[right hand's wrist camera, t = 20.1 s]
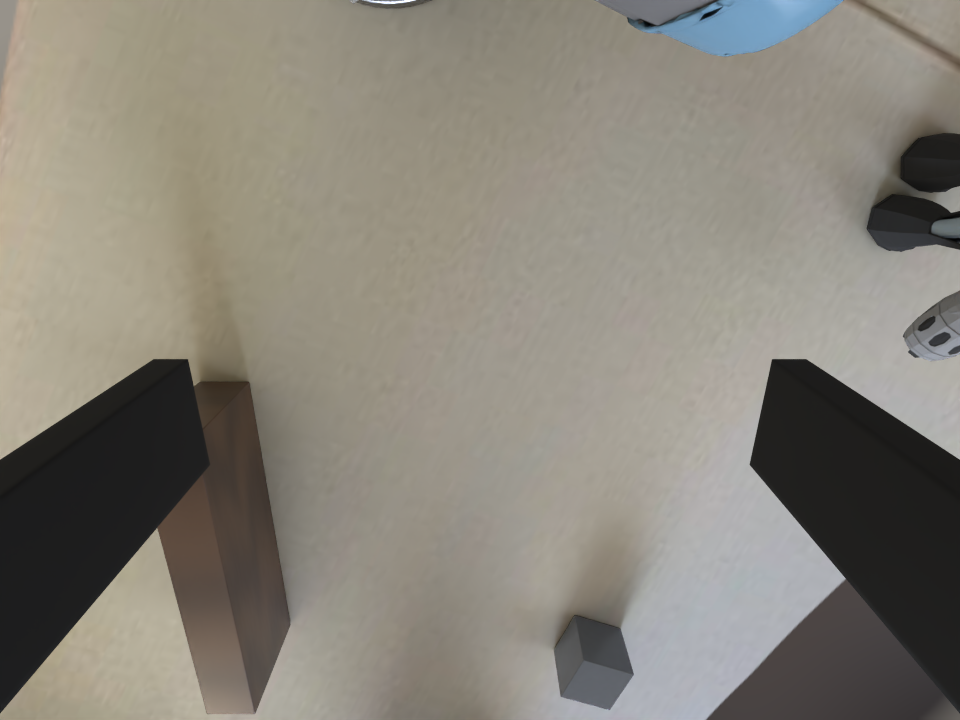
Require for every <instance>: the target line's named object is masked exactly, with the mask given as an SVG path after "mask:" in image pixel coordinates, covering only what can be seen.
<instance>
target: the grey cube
mask: <svg viewBox="0 0 960 720" xmlns="http://www.w3.org/2000/svg"><path fill="white" fill-rule="evenodd" d="M554 654H555V661H556V668H557V675H558V682H559V688H560V695H561V697H563V698H567V699H570V700H574V701H578V702H581V703H585V704H589V705H592V706H596V707H600V708H603V709H607V710H610V709H611V707H612V706H613V704H614V703H615V701H616V700H617V699H618V697H619V696H620V694H621V693H622V691H623V690H624V688H625V687H626V685H627V684H628V682H629V681H630V679H631V678H632V677H633V675H634V673H633V670H632V666H631V663H630V660H629V656H628V653H627V649H626V646H625V642H624V639H623V635H622V632H621V629H620V628H616V627H613V626H610V625H606V624H603V623H600V622H596V621H593V620H590V619H586V618H583V617H580V616H576V615H574V617H573V619H572V620H571V622H570V624H569V625H568V627H567V629H566V630H565V632H564V634H563V635H562V637H561V639H560V641H559V642H558V644H557V646H556V647H555V649H554Z"/></svg>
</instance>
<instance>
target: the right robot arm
mask: <svg viewBox="0 0 960 720" xmlns="http://www.w3.org/2000/svg"><path fill="white" fill-rule="evenodd" d="M350 1H351V2H352V3H353V4H354V3H355V2H357V3H360V4H363V5H367V6H372V7H379V8H404V7H411V6H415V5H420V4H423V3H426V2H428V1H431V0H350ZM595 1H597V2H599V3H601V4H603V5H605V6H607V7H609V8H611V9H613V10H615V11H617V12H619V13H621V14H623V15H625V16H627V18H628V22H629V24H631V25H632V26H634V27H635V28H637V29H639V30H641V31H643V32H647V33H662V34H665V35H667V36H669V37H671V38H674V39H676V40H678V41H680V42H683V43H685V44H687V45H689V46H692V47H694V48H696V49H698V50H701V51H703V52H706V53H709V54H712V55H718V56H732V55H736V54H745V53H754V52H757V51H761V50H764V49H766V48H769V47H771V46H773V45H775V44H777V43H779V42H782V41H784V40H786V39H788V38H789V37H791V36H793V35H795V34H797V33H798V32H800V31H802V30H803V29H805V28H806V27H808V26H809V25H811V24H812V23H814V22H815V21H817V20H818V19H820V18H821V17H823V16H824V15H825V14H827V13H828V12H830V11H831V10H832V9H833V8H835V7H836V6H837V5H838V4H840V3H841V2H842V1H843V0H595ZM209 466H210V461H209V456H208V452H207V447H206V442H205V438H204V433H203V428H202V423H201V419H200V414H199V409H198V405H197V400H196V395H195V391H194V386H193V381H192V377H191V372H190V367H189V362H188V359H153V360H152V361H150V362H149V363H147V364H146V365H144V366H143V367H141V368H140V369H138V370H137V371H135V372H134V373H132V374H131V375H129V376H127V377H126V378H124V379H123V380H121V381H120V382H118V383H117V384H115V385H114V386H112V387H111V388H109V389H108V390H106V391H105V392H103V393H102V394H100V395H98V396H97V397H95V398H94V399H92V400H91V401H89V402H88V403H86V404H85V405H83V406H82V407H80V408H79V409H77V410H76V411H74V412H72V413H71V414H69V415H68V416H66V417H65V418H63V419H62V420H60V421H59V422H57V423H56V424H54V425H53V426H51V427H50V428H48V429H47V430H45V431H43V432H42V433H40V434H39V435H37V436H36V437H34V438H33V439H31V440H30V441H28V442H27V443H25V444H24V445H22V446H21V447H19V448H18V449H16V450H14V451H13V452H11V453H10V454H8V455H7V456H5V457H4V458H2V459H1V460H0V713H1V712H2V711H3V709H4V708H5V707H6V706H7V705H8V703H9V702H10V701H11V700H12V699H13V698H14V696H15V695H16V694H17V693H18V692H19V690H20V689H21V688H22V687H23V686H24V685H25V683H26V682H27V681H28V680H29V679H30V677H31V676H32V675H33V674H34V673H35V671H36V670H37V669H38V668H39V667H40V666H41V664H42V663H43V662H44V661H45V660H46V658H47V657H48V656H49V655H50V654H51V653H52V651H53V650H54V649H55V648H56V647H57V645H58V644H59V643H60V642H61V641H62V640H63V638H64V637H65V636H66V635H67V634H68V632H69V631H70V630H71V629H72V628H73V627H74V625H75V624H76V623H77V622H78V621H79V619H80V618H81V617H82V616H83V615H84V614H85V612H86V611H87V610H88V609H89V608H90V606H91V605H92V604H93V603H94V602H95V601H96V599H97V598H98V597H99V596H100V595H101V593H102V592H103V591H104V590H105V589H106V588H107V586H108V585H109V584H110V583H111V582H112V580H113V579H114V578H115V577H116V576H117V574H118V573H119V572H120V571H121V570H122V569H123V567H124V566H125V565H126V564H127V563H128V561H129V560H130V559H131V558H132V557H133V556H134V554H135V553H136V552H137V551H138V550H139V548H140V547H141V546H142V545H143V544H144V543H145V541H146V540H147V539H148V538H149V537H150V535H151V534H152V533H153V532H154V531H155V530H156V528H157V527H158V526H159V525H160V524H161V522H162V521H163V520H164V519H165V518H166V517H167V515H168V514H169V513H170V512H171V511H172V509H173V508H174V507H175V506H176V505H177V504H178V502H179V501H180V500H181V499H182V498H183V496H184V495H185V494H186V493H187V492H188V491H189V489H190V488H191V487H192V486H193V485H194V483H195V482H196V481H197V480H198V479H199V477H200V476H201V475H202V474H203V473H204V472H205V470H206V469H207V468H208V467H209ZM750 466H751V467H752V468H753V469H754V470H755V472H756V473H757V474H758V475H759V476H760V477H761V479H762V480H763V481H764V482H765V483H766V485H767V486H768V487H769V488H770V489H771V491H772V492H773V493H774V494H775V495H776V496H777V498H778V499H779V500H780V501H781V502H782V504H783V505H784V506H785V507H786V508H787V509H788V511H789V512H790V513H791V514H792V515H793V517H794V518H795V519H796V520H797V521H798V522H799V524H800V525H801V526H802V527H803V528H804V530H805V531H806V532H807V533H808V534H809V535H810V537H811V538H812V539H813V540H814V541H815V543H816V544H817V545H818V546H819V547H820V548H821V550H822V551H823V552H824V553H825V554H826V556H827V557H828V558H829V559H830V560H831V561H832V563H833V564H834V565H835V566H836V567H837V569H838V570H839V571H840V572H841V573H842V574H843V576H844V577H845V578H846V579H847V580H848V582H849V583H850V584H851V585H852V586H853V588H854V589H855V590H856V591H857V592H858V593H859V595H860V596H861V597H862V598H863V599H864V600H865V602H866V603H867V604H868V605H869V606H870V608H871V609H872V610H873V611H874V612H875V614H876V615H877V616H878V617H879V618H880V619H881V621H882V622H883V623H884V624H885V625H886V627H887V628H888V629H889V630H890V631H891V632H892V634H893V635H894V636H895V637H896V638H897V640H898V641H899V642H900V643H901V644H902V645H903V647H904V648H905V649H906V650H907V651H908V653H909V654H910V655H911V656H912V657H913V658H914V660H915V661H916V662H917V663H918V664H919V666H920V667H921V668H922V669H923V670H924V671H925V673H926V674H927V675H928V676H929V677H930V679H931V680H932V681H933V682H934V683H935V684H936V686H937V687H938V688H939V689H940V690H941V692H942V693H943V694H944V695H945V696H946V698H947V699H948V700H949V701H950V702H951V703H952V705H953V706H954V707H955V708H956V709H957V711H958V712H959V713H960V460H959V459H958V458H956V457H955V456H953V455H952V454H950V453H949V452H947V451H946V450H944V449H942V448H941V447H939V446H938V445H936V444H935V443H933V442H932V441H930V440H929V439H927V438H926V437H924V436H923V435H921V434H920V433H918V432H917V431H915V430H913V429H912V428H910V427H909V426H907V425H906V424H904V423H903V422H901V421H900V420H898V419H897V418H895V417H894V416H892V415H891V414H889V413H888V412H886V411H884V410H883V409H881V408H880V407H878V406H877V405H875V404H874V403H872V402H871V401H869V400H868V399H866V398H865V397H863V396H862V395H860V394H858V393H857V392H855V391H854V390H852V389H851V388H849V387H848V386H846V385H845V384H843V383H842V382H840V381H839V380H837V379H836V378H834V377H833V376H831V375H829V374H828V373H826V372H825V371H823V370H822V369H820V368H819V367H817V366H816V365H814V364H813V363H811V362H810V361H808V360H807V359H772V362H771V367H770V372H769V377H768V381H767V386H766V391H765V395H764V400H763V405H762V409H761V414H760V419H759V423H758V428H757V433H756V438H755V442H754V447H753V452H752V456H751V461H750Z"/></svg>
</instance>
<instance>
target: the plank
mask: <svg viewBox="0 0 960 720" xmlns="http://www.w3.org/2000/svg"><path fill="white" fill-rule="evenodd" d="M194 391H195V395H196V400H197V405H198V409H199V414H200V419H201V423H202V428H203V433H204V438H205V442H206V447H207V452H208V456H209V461H210V466H209V467H208V468H207V469H206V470H205V472H204V473H203V474H202V475H201V476H200V477H199V479H198V480H197V481H196V482H195V483H194V485H193V486H192V487H191V488H190V489H189V491H188V492H187V493H186V494H185V495H184V496H183V498H182V499H181V500H180V501H179V502H178V504H177V505H176V506H175V507H174V508H173V509H172V511H171V512H170V513H169V514H168V515H167V517H166V518H165V519H164V520H163V521H162V522H161V524H160V525H159V526H158V527H157V528H158V531H159V535H160V539H161V543H162V546H163V550H164V554H165V558H166V561H167V565H168V569H169V573H170V576H171V580H172V584H173V588H174V592H175V595H176V599H177V603H178V607H179V610H180V614H181V618H182V622H183V625H184V629H185V633H186V637H187V640H188V644H189V648H190V652H191V655H192V659H193V663H194V667H195V670H196V674H197V678H198V682H199V685H200V689H201V693H202V697H203V700H204V704H205V708H206V712H207V714H255V713H256V710H257V708H258V705H259V703H260V700H261V698H262V695H263V693H264V690H265V688H266V685H267V683H268V680H269V678H270V675H271V673H272V670H273V667H274V665H275V662H276V660H277V657H278V655H279V652H280V650H281V647H282V645H283V642H284V640H285V637H286V635H287V632H288V630H289V627H290V620H289V614H288V608H287V602H286V596H285V590H284V584H283V578H282V573H281V567H280V561H279V555H278V549H277V543H276V537H275V531H274V525H273V520H272V514H271V508H270V502H269V496H268V490H267V484H266V478H265V473H264V467H263V461H262V455H261V449H260V443H259V437H258V431H257V425H256V420H255V414H254V408H253V402H252V396H251V390H250V384H249V382H199V383H198V384H197V385H196V386H194Z"/></svg>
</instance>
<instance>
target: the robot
mask: <svg viewBox="0 0 960 720" xmlns="http://www.w3.org/2000/svg"><path fill="white" fill-rule="evenodd" d="M901 179H903V180H904V181H905V182H907V183H908V184H910V185H911V186H913V187H914V188H916V189H917V190H919V191H924V192H930V193H932V192H946V191H948V190H949V189H951V188H954V187H958V186H960V134H951V133H943V134H937V135H932V136H927V137H921V138H918V139H917V140H916V141H915V143H914V144H913V145H912V146H911V147H910V148H909V149H908V150H907V151H906V152H905V153H904V154H903V156H902V157H901ZM867 230H868V231H869V233H870V234H871V236H872V237H873V239H874V240H875V241H876V243H877V244H878V245H879V246H880V247H882V248H884V249H886V250H889V251H900V252H902V251H905V250H909V249H913V248H915V247H918V246H928V245H935V244H937V245H942V246H946V247H950V248H955V249H959V250H960V211H958V212H954V213H950V212H949V211H948V210H947V209H946V208H944V207H943V206H941V205H939V204H937V203H935V202H933V201H930V200H927V199H923V198H917V197H910V196H902V195H894V194H892V195H891V196H889V197H887V198H886V199H884V200H883V201H881V202H880V203H878V204H877V205H875V206H874V207H872V211H871V215H870V218H869V222H868V226H867ZM903 337H904V338H905V342H906V344H907V346H908V347H909V349H910V350H909V352H908V353H910V354H911V355H912V356H914V357H915V358H916V357H920V358H923V359H926V360H929V361H936V360H942V359H946V358H950V357H954V356H956V355H958V354H960V291H958V292H956V293H954V294H952V295H949V296H947V297H945V298H944V299H942V300H941V301H939V302H938V303H936V304H935V305H933V306H932V307H931V308H930V309H928V310H927V311H926V312H925V313H923V314H922V315H921V316H920V317H918V318H917V319H916V320H915V321H914V322H913V323H912V324H911V325H910V326H909V327H908V329H907V330H906V331H905V333H904V335H903Z"/></svg>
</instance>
